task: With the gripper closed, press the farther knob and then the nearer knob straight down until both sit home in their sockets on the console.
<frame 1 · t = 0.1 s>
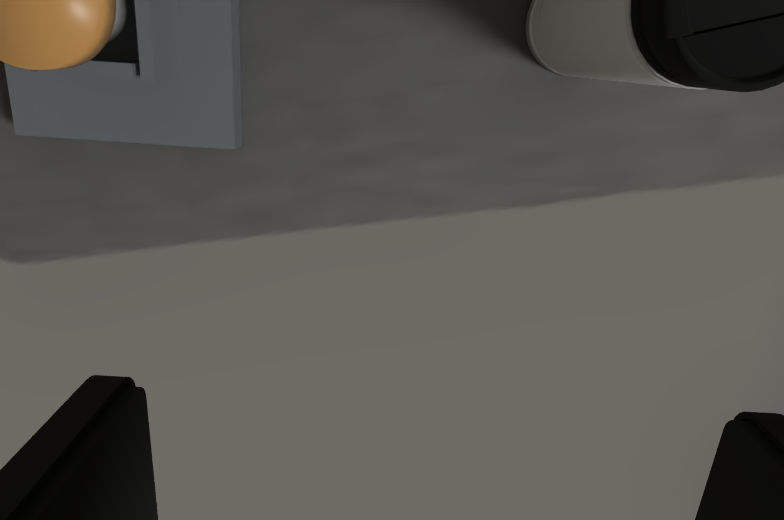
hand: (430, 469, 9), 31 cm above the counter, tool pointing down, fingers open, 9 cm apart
travel mug: (570, 24, 36), on the counter
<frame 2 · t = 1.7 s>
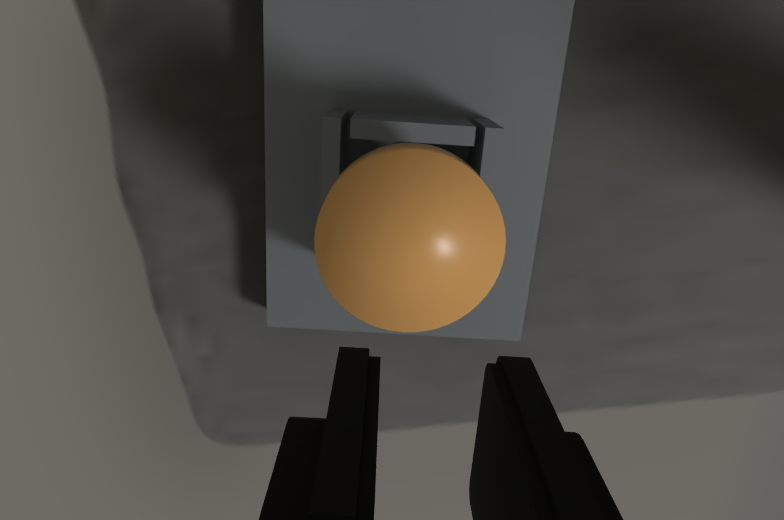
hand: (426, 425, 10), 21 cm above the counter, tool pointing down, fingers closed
console: (415, 21, 27), on the counter
knob 2: (407, 223, 23), point 8 cm above the counter, slide at 0.0 cm
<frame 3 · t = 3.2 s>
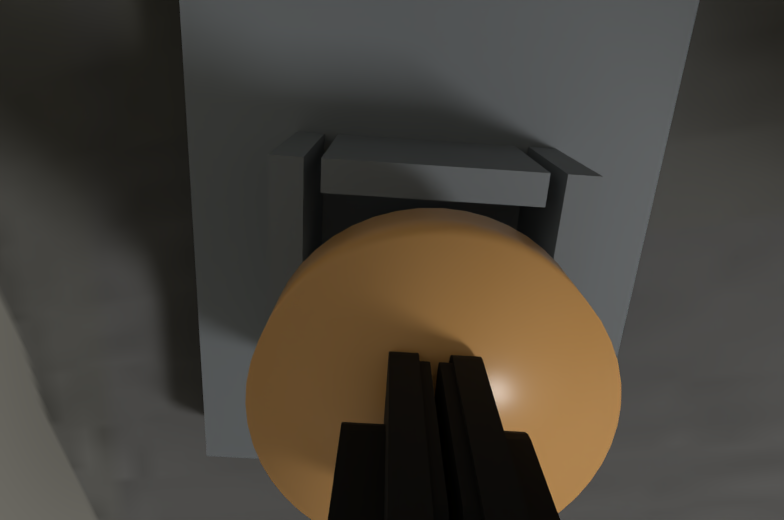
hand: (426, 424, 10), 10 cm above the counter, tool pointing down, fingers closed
knob 2: (424, 338, 13), point 7 cm above the counter, slide at 0.8 cm, touching gripper
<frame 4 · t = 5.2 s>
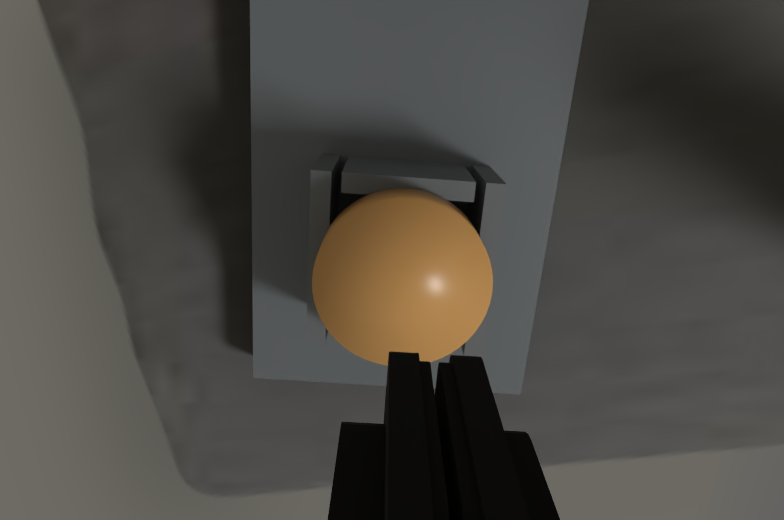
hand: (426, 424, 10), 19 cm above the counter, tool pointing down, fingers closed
console: (412, 62, 26), on the counter
knob 2: (401, 261, 24), point 5 cm above the counter, slide at 2.9 cm
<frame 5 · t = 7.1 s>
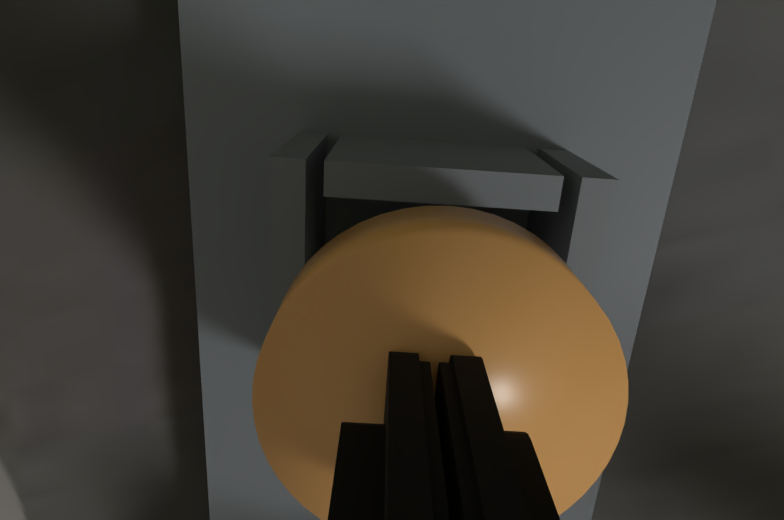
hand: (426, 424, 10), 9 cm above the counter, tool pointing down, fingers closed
console: (403, 439, 22), on the counter
knob 1: (430, 336, 13), point 7 cm above the counter, slide at 1.4 cm, touching gripper
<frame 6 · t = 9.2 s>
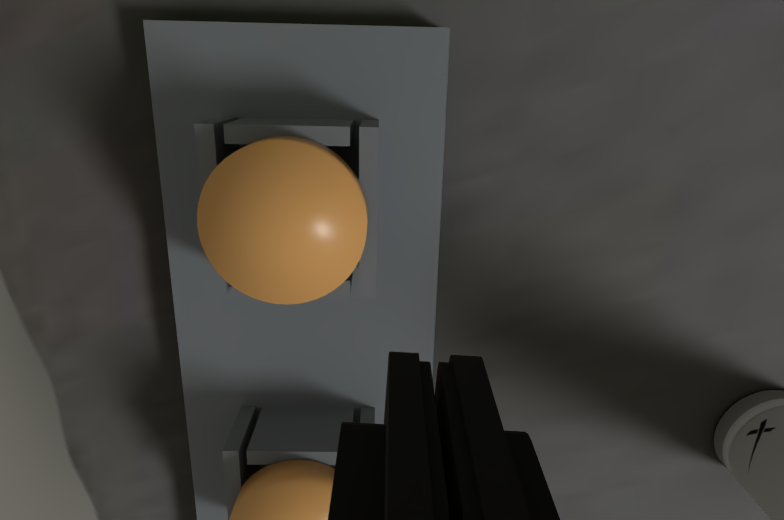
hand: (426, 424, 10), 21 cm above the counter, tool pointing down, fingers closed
console: (310, 324, 33), on the counter
travel mug: (756, 430, 36), on the counter
knob 1: (293, 209, 25), point 5 cm above the counter, slide at 2.9 cm
knob 2: (303, 499, 30), point 5 cm above the counter, slide at 2.9 cm
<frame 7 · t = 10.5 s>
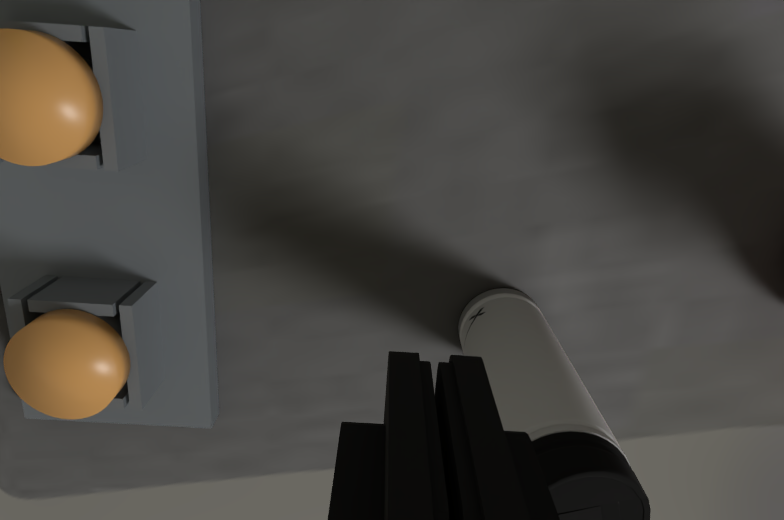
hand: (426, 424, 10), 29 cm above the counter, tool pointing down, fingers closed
console: (108, 211, 39), on the counter
travel mug: (496, 324, 42), on the counter
knob 1: (51, 96, 31), point 5 cm above the counter, slide at 2.9 cm
knob 2: (85, 349, 37), point 5 cm above the counter, slide at 2.9 cm
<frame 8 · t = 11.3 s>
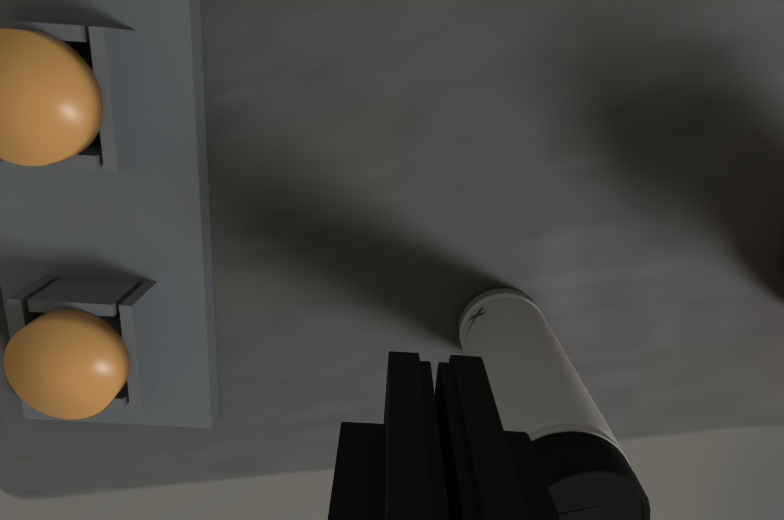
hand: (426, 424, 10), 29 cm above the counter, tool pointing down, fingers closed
console: (108, 211, 39), on the counter
travel mug: (496, 324, 42), on the counter
knob 1: (51, 96, 31), point 5 cm above the counter, slide at 2.9 cm
knob 2: (85, 349, 37), point 5 cm above the counter, slide at 2.9 cm
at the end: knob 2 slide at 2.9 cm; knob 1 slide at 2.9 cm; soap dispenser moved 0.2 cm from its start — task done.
